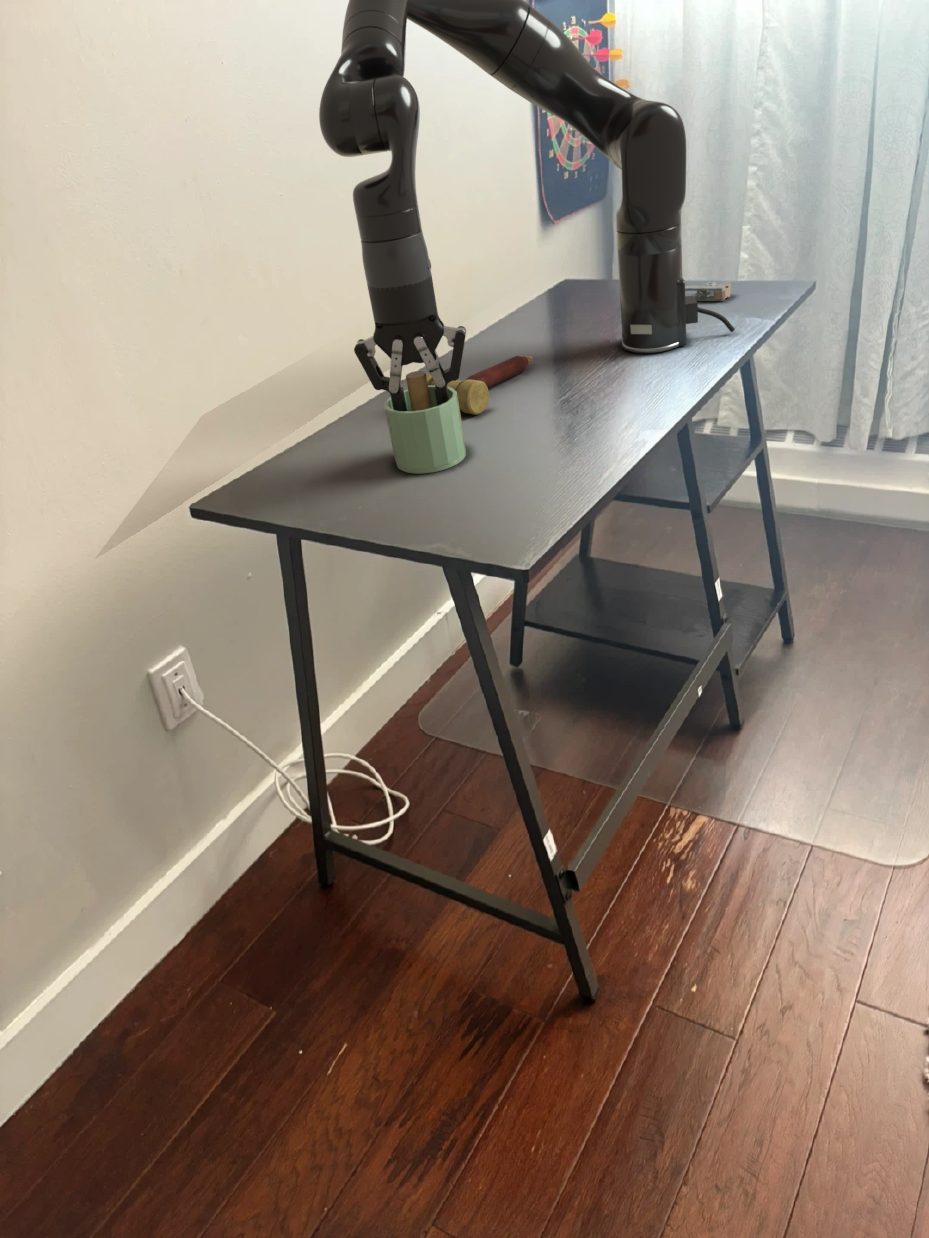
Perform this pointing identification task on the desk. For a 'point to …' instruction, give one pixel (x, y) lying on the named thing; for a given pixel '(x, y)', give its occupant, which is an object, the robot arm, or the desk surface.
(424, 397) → the stick
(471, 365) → the desk surface
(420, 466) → the cup
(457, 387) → the gavel
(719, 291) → the clamp
